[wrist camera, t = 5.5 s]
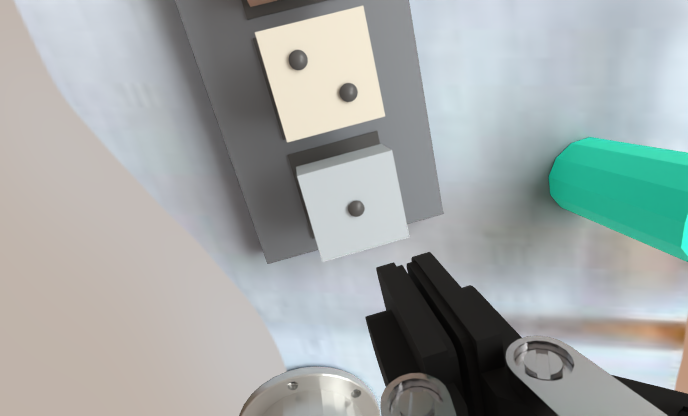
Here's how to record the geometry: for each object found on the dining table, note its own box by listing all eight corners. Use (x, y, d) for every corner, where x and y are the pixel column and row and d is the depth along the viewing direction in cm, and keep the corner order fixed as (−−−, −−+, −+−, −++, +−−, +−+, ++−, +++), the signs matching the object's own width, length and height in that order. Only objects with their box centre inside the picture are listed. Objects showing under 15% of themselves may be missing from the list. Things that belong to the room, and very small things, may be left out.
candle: (543, 213, 30) (696, 287, 19) (554, 138, 28) (732, 172, 17) (609, 208, 31) (794, 276, 20) (624, 135, 29) (838, 165, 18)
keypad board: (432, 205, 29) (444, 214, 26) (268, 252, 28) (267, 265, 26) (373, -146, 21) (382, -172, 19) (148, -96, 20) (132, -117, 18)
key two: (374, 113, 21) (386, 116, 19) (287, 136, 21) (287, 143, 19) (354, 14, 20) (363, 4, 17) (258, 38, 19) (254, 31, 17)
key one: (397, 223, 24) (410, 238, 21) (319, 245, 23) (322, 263, 21) (381, 143, 22) (392, 150, 19) (296, 166, 22) (297, 176, 19)
